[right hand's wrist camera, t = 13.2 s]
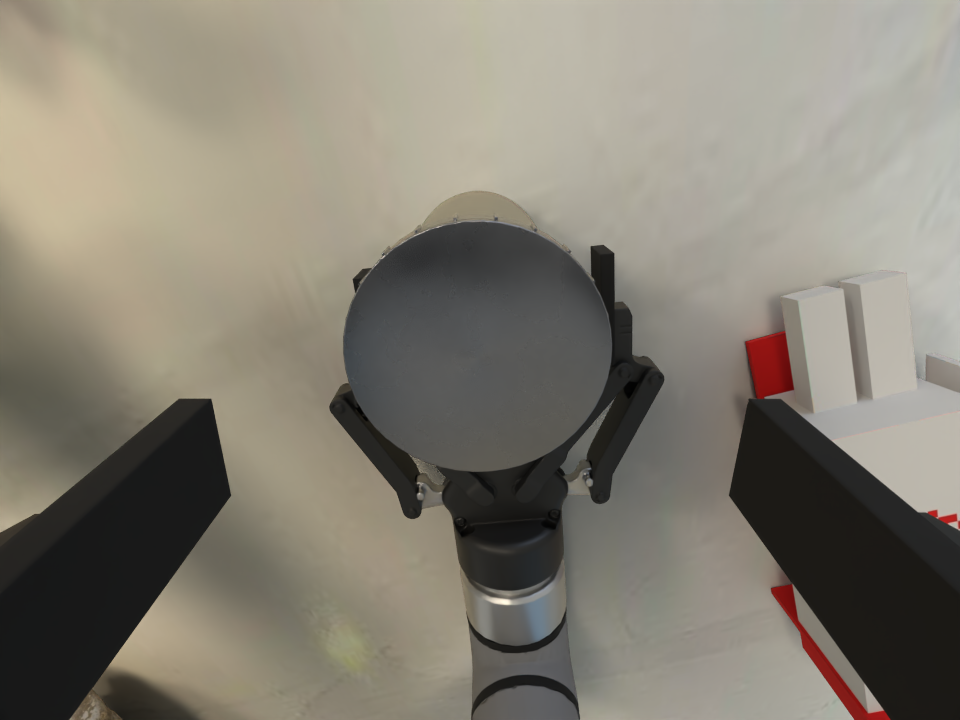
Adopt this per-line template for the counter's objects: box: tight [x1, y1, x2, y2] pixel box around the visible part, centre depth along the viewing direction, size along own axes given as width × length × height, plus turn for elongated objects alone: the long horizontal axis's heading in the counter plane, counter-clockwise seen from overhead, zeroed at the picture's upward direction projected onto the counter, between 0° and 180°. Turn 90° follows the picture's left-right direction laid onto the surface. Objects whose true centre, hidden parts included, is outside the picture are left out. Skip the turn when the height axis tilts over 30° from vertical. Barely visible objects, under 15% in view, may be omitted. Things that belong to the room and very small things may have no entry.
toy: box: [745, 270, 960, 720], centre depth 38 cm, size 12×13×30 cm
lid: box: [343, 213, 612, 472], centre depth 20 cm, size 10×10×2 cm
